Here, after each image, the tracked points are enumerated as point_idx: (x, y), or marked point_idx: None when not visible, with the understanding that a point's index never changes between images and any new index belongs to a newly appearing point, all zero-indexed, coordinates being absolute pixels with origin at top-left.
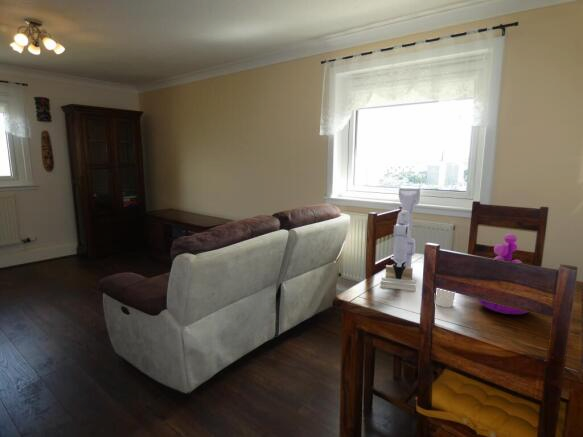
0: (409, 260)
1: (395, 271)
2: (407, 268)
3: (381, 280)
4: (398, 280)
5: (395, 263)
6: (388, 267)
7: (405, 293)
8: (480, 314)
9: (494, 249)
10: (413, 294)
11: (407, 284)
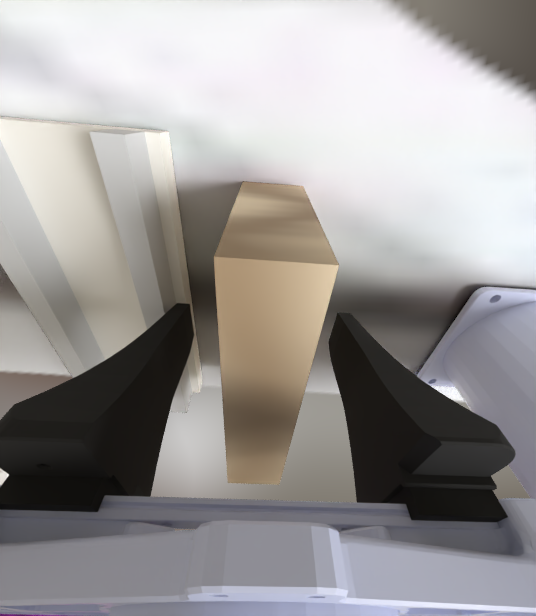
0: (524, 488)
1: (105, 367)
2: (239, 463)
3: (112, 129)
4: (150, 321)
5: (392, 409)
6: (218, 296)
7: (11, 330)
8: None
9: None
10: (36, 365)
11: (71, 373)
